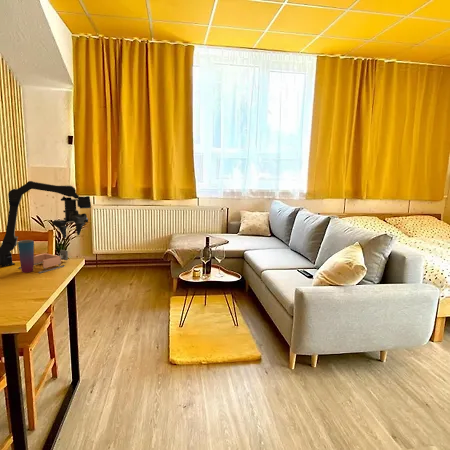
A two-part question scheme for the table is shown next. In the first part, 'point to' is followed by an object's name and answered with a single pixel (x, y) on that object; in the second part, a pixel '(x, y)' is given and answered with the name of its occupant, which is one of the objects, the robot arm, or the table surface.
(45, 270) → the rails
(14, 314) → the table surface
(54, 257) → the caddy
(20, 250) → the cup
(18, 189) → the robot arm
